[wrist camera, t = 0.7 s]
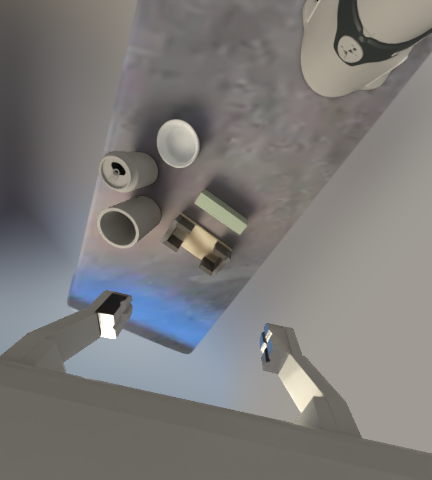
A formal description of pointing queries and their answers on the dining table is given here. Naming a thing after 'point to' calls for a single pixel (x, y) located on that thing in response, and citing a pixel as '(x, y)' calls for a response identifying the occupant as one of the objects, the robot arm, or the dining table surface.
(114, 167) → the can
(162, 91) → the dining table surface
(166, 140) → the ramekin
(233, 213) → the slat
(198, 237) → the grey and cream cradle
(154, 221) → the cup
